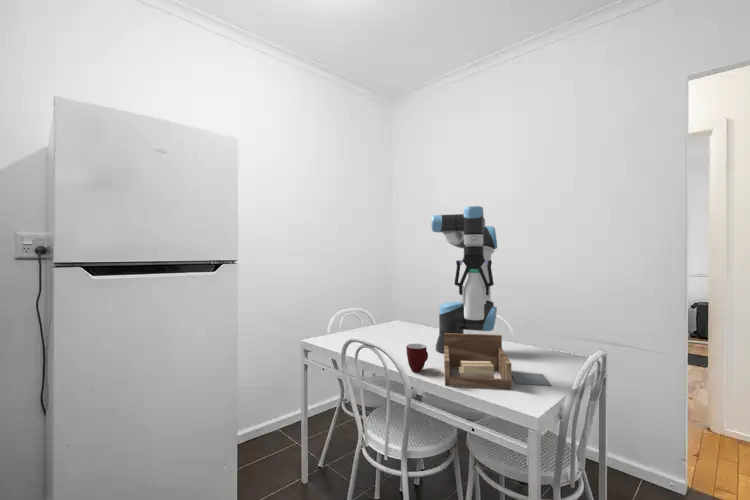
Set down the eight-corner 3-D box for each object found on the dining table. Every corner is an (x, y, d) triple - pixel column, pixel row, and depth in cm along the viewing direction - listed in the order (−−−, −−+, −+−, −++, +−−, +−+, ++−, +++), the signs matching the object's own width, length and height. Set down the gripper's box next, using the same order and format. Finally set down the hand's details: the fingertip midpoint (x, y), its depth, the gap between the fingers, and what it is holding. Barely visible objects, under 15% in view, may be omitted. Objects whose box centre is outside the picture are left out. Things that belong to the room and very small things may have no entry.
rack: (444, 366, 158) (444, 333, 158) (501, 368, 154) (501, 334, 154) (445, 385, 136) (444, 346, 136) (511, 389, 132) (511, 349, 132)
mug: (417, 364, 160) (417, 341, 160) (433, 368, 155) (433, 344, 155) (402, 370, 152) (402, 346, 152) (419, 375, 147) (419, 349, 147)
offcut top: (460, 367, 142) (460, 360, 142) (489, 367, 142) (489, 361, 142) (463, 372, 137) (463, 365, 137) (493, 372, 137) (493, 366, 137)
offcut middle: (458, 373, 143) (458, 367, 143) (491, 375, 141) (491, 368, 141) (459, 378, 138) (459, 371, 138) (493, 380, 136) (493, 373, 136)
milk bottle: (485, 321, 144) (484, 269, 144) (464, 320, 146) (464, 269, 145) (483, 317, 152) (483, 267, 151) (463, 316, 153) (463, 267, 153)
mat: (510, 373, 149) (510, 372, 149) (542, 374, 147) (542, 373, 147) (516, 384, 137) (516, 382, 137) (551, 385, 135) (551, 384, 135)
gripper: (447, 245, 146) (447, 304, 147) (501, 245, 143) (502, 305, 143) (447, 245, 154) (447, 301, 154) (498, 245, 150) (499, 302, 151)
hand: (473, 303), depth 149 cm, fingers closed on milk bottle, 7 cm apart
